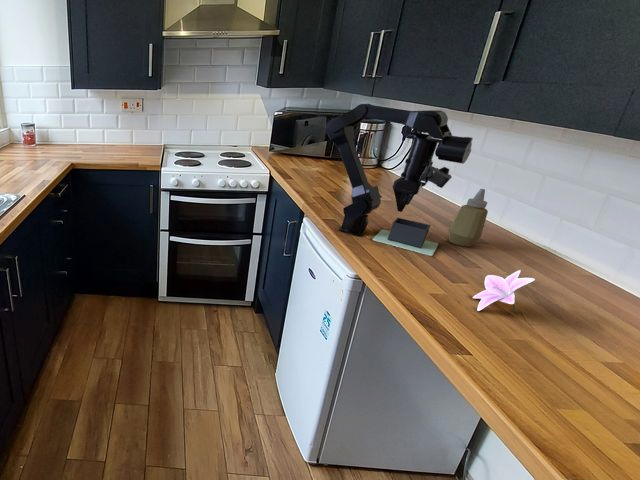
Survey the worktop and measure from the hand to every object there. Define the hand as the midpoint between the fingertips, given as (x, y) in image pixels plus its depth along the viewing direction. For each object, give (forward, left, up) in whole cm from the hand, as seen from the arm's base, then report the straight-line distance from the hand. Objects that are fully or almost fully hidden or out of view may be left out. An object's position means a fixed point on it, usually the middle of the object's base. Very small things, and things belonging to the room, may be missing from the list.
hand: (403, 207), depth 121 cm
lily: (+26, -24, -12) cm, 37 cm away
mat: (+3, +5, -12) cm, 13 cm away
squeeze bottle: (+16, +18, -12) cm, 27 cm away
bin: (+3, +5, -12) cm, 13 cm away
